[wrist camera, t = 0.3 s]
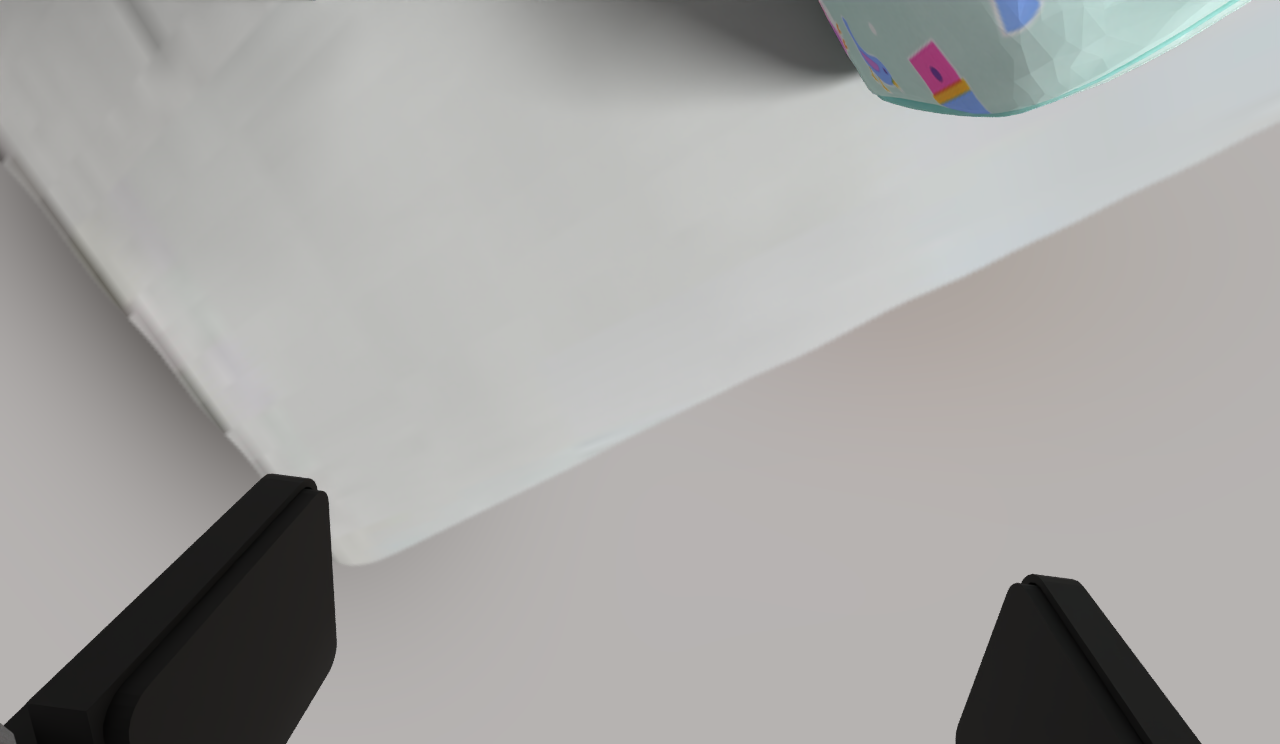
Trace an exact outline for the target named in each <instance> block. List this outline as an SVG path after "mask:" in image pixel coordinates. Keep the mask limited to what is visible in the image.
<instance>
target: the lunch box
mask: <svg viewBox="0 0 1280 744" xmlns="http://www.w3.org/2000/svg"><path fill="white" fill-rule="evenodd" d="M818 1H819V3H820V5H821V7H822V9H823V11H824V13H825V15H826V17H827V19H828V21H829V23H830V24H831V26H832V28H833V30H834V32H835V34H836V36H837V37H838V39H839V41H840V43H841V45H842V47H843V48H844V50H845V52H846V54H847V55H848V57H849V58H850V60H851V61H852V63H853V64H854V66H855V67H856V69H857V71H858V72H859V74H860V76H861V78H862V80H863V81H864V83H865V84H866V86H867V87H868V89H869V90H870V91H871V92H872V93H873V94H875V95H877V96H878V97H879V98H881V99H882V100H884V101H887V102H890V103H893V104H896V105H900V106H904V107H908V108H912V109H916V110H922V111H928V112H934V113H940V114H949V115H958V116H972V117H1005V116H1011V115H1016V114H1021V113H1024V112H1027V111H1030V110H1032V109H1035V108H1038V107H1041V106H1044V105H1046V104H1049V103H1052V102H1055V101H1057V100H1060V99H1063V98H1066V97H1068V96H1071V95H1074V94H1076V93H1079V92H1082V91H1084V90H1087V89H1090V88H1092V87H1095V86H1098V85H1100V84H1103V83H1106V82H1108V81H1110V80H1112V79H1114V78H1116V77H1118V76H1120V75H1123V74H1125V73H1127V72H1129V71H1131V70H1133V69H1135V68H1137V67H1139V66H1141V65H1143V64H1145V63H1147V62H1148V61H1150V60H1152V59H1154V58H1156V57H1158V56H1160V55H1162V54H1164V53H1165V52H1167V51H1169V50H1171V49H1173V48H1175V47H1177V46H1179V45H1180V44H1182V43H1184V42H1185V41H1187V40H1188V39H1190V38H1192V37H1193V36H1195V35H1196V34H1198V33H1200V32H1201V31H1203V30H1204V29H1206V28H1208V27H1209V26H1211V25H1212V24H1214V23H1216V22H1217V21H1219V20H1221V19H1222V18H1224V17H1226V16H1227V15H1229V14H1231V13H1232V12H1234V11H1235V10H1237V9H1239V8H1240V7H1242V6H1244V5H1245V4H1247V3H1248V2H1250V1H1251V0H818Z"/></svg>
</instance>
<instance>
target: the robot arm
mask: <svg viewBox="0 0 1280 744" xmlns="http://www.w3.org/2000/svg"><path fill="white" fill-rule="evenodd" d="M334 605H335V604H334V589H333V570H332V552H331V535H330V518H329V501H328V496H327V494H326V493H325V492H324V491H318V490H317V486H316V484H315V482H314V481H313V480H312V479H309V478H302V477H294V476H286V475H279V474H267V475H266V476H264V477H263V478H262V479H261V480H260V481H258V482H257V483H256V484H255V485H254V486H253V487H252V488H251V489H250V490H249V491H248V492H247V493H246V494H245V495H244V496H243V497H242V498H241V499H240V500H239V501H238V502H236V503H235V504H234V505H233V506H232V507H231V508H230V509H229V510H228V511H227V512H226V513H225V514H224V515H223V516H222V517H221V518H220V519H219V520H218V521H217V522H215V523H214V524H213V525H212V526H211V527H210V528H209V529H208V530H207V531H206V532H205V533H204V534H203V535H202V536H201V537H200V538H199V539H198V540H197V541H196V542H194V544H192V545H191V546H190V547H189V548H188V549H187V550H186V551H185V552H184V553H183V554H182V555H181V556H180V557H179V558H178V559H177V560H176V561H175V562H174V563H173V564H171V565H170V566H169V567H168V568H167V569H166V570H165V571H164V572H163V573H162V574H161V575H160V576H159V577H158V578H157V579H156V580H155V581H154V582H153V583H152V584H150V585H149V586H148V587H147V588H146V589H145V590H144V591H143V592H142V593H141V594H140V595H139V596H138V597H137V598H136V599H135V600H134V601H133V602H132V603H131V604H130V605H129V606H127V607H126V608H125V609H124V610H123V611H122V612H121V613H120V614H119V615H118V616H117V617H116V618H115V619H114V620H113V621H112V622H111V623H110V624H109V625H108V626H106V627H105V628H104V629H103V630H102V631H101V632H100V633H99V634H98V635H97V636H96V637H95V638H94V639H93V640H92V641H91V642H90V643H89V644H88V645H87V646H86V647H85V648H84V649H82V650H81V651H80V652H79V653H78V654H77V655H76V656H75V657H74V658H73V659H72V660H71V661H70V662H69V663H68V664H67V665H66V666H65V667H63V669H61V670H60V671H59V672H58V673H57V674H56V675H55V676H54V677H53V678H52V679H51V680H50V681H49V682H48V683H47V684H46V685H45V686H44V687H43V688H41V690H39V691H38V692H37V693H36V694H35V695H34V696H33V697H32V698H31V699H30V700H29V701H28V702H27V703H26V704H25V705H24V707H22V708H21V709H20V710H19V711H18V712H17V713H16V714H15V715H14V716H13V717H12V718H11V719H10V720H9V721H8V722H7V723H6V724H5V725H4V726H3V725H2V724H1V723H0V744H286V743H287V741H288V739H289V738H290V736H291V734H292V733H293V731H294V729H295V728H296V726H297V724H298V723H299V721H300V720H301V718H302V716H303V715H304V713H305V711H306V710H307V708H308V706H309V704H310V703H311V701H312V700H313V698H314V696H315V695H316V693H317V691H318V690H319V688H320V686H321V685H322V683H323V681H324V680H325V678H326V676H327V674H328V673H329V671H330V669H331V667H332V664H333V661H334V658H335V654H336V647H337V639H336V623H335V606H334ZM956 744H1201V743H1200V741H1199V740H1198V738H1197V737H1196V736H1195V734H1194V733H1193V732H1192V730H1191V729H1190V728H1189V727H1188V725H1187V724H1186V723H1185V721H1184V720H1183V718H1182V717H1181V716H1180V715H1179V713H1178V712H1177V711H1176V709H1175V708H1174V707H1173V705H1172V704H1171V703H1170V701H1169V700H1168V699H1167V698H1166V696H1165V695H1164V693H1163V692H1162V691H1161V689H1160V688H1159V687H1158V685H1157V684H1156V683H1155V681H1154V680H1153V679H1152V677H1151V676H1150V675H1149V674H1148V672H1147V671H1146V669H1145V668H1144V667H1143V665H1142V664H1141V663H1140V661H1139V660H1138V659H1137V657H1136V656H1135V655H1134V653H1133V652H1132V651H1131V649H1130V648H1129V647H1128V645H1127V644H1126V643H1125V641H1124V640H1123V639H1122V637H1121V636H1120V635H1119V633H1118V632H1117V631H1116V629H1115V628H1114V627H1113V625H1112V624H1111V623H1110V621H1109V620H1108V619H1107V617H1106V616H1105V615H1104V613H1103V612H1102V611H1101V609H1100V608H1099V607H1098V605H1097V604H1096V603H1095V601H1094V600H1093V599H1092V597H1091V596H1090V595H1089V593H1088V592H1087V591H1086V589H1085V588H1084V587H1083V586H1082V585H1081V584H1080V583H1079V582H1078V581H1076V580H1073V579H1067V578H1059V577H1051V576H1044V575H1037V574H1031V575H1028V576H1026V577H1025V578H1024V579H1023V581H1022V583H1015V584H1013V585H1012V586H1011V587H1010V588H1009V590H1008V592H1007V594H1006V597H1005V600H1004V603H1003V605H1002V608H1001V611H1000V613H999V616H998V619H997V621H996V624H995V627H994V630H993V632H992V635H991V638H990V641H989V643H988V646H987V648H986V651H985V654H984V656H983V659H982V662H981V665H980V667H979V670H978V673H977V675H976V678H975V681H974V684H973V686H972V689H971V692H970V694H969V697H968V700H967V702H966V705H965V708H964V710H963V713H962V716H961V718H960V721H959V724H958V727H957V731H956Z"/></svg>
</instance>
